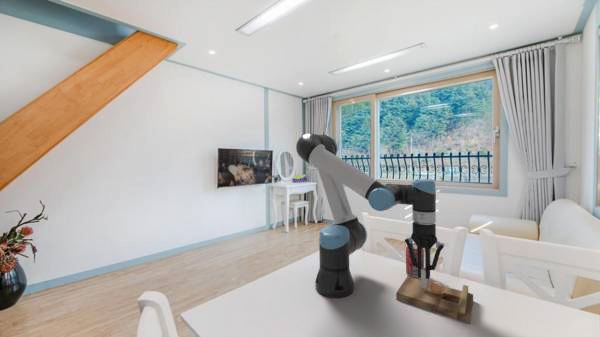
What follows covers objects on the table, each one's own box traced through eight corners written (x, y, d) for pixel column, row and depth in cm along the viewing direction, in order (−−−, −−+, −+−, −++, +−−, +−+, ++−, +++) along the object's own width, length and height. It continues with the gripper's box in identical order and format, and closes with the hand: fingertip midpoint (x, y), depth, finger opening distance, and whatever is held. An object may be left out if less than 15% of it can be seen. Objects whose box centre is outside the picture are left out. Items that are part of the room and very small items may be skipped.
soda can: (426, 280, 102) (426, 249, 102) (407, 278, 104) (407, 248, 103) (421, 272, 109) (421, 243, 108) (404, 271, 110) (404, 242, 110)
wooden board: (396, 299, 89) (396, 285, 89) (407, 282, 101) (407, 270, 100) (470, 323, 75) (470, 308, 75) (473, 301, 87) (473, 287, 87)
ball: (442, 287, 84) (441, 298, 85) (444, 282, 88) (442, 293, 88) (429, 283, 87) (428, 293, 87) (431, 278, 90) (430, 289, 90)
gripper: (402, 221, 90) (402, 285, 91) (442, 227, 82) (442, 296, 83) (407, 217, 96) (407, 277, 97) (446, 222, 88) (446, 287, 89)
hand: (424, 286), depth 90 cm, fingers closed
